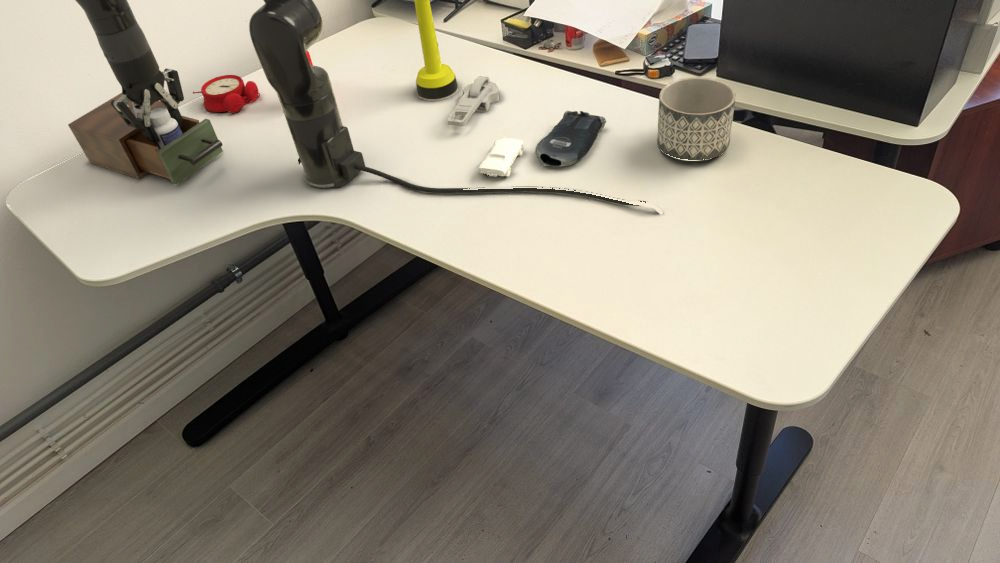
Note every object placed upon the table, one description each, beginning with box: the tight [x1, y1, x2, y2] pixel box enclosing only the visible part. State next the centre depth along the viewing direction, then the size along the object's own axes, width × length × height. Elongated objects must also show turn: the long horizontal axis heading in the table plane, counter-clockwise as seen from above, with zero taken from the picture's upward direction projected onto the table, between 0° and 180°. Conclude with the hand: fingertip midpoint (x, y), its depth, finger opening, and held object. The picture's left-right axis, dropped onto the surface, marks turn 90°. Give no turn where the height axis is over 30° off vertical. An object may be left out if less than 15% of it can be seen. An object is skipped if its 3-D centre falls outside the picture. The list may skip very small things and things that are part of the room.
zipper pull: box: [447, 76, 500, 127], centre depth 147 cm, size 8×18×4 cm, turn 161°
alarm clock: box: [192, 74, 261, 114], centre depth 161 cm, size 10×6×15 cm
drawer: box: [124, 115, 224, 186], centre depth 141 cm, size 19×12×7 cm, turn 60°
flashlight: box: [413, 0, 459, 102], centre depth 148 cm, size 25×9×9 cm
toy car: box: [477, 137, 525, 178], centre depth 133 cm, size 6×12×3 cm, turn 159°
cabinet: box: [67, 92, 167, 180], centre depth 147 cm, size 16×14×9 cm
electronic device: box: [535, 110, 607, 168], centre depth 134 cm, size 9×6×15 cm
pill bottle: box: [150, 108, 183, 150], centre depth 140 cm, size 5×5×9 cm
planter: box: [656, 76, 737, 160], centre depth 128 cm, size 13×13×10 cm
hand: (167, 133), depth 140 cm, fingers closed on pill bottle, 5 cm apart
